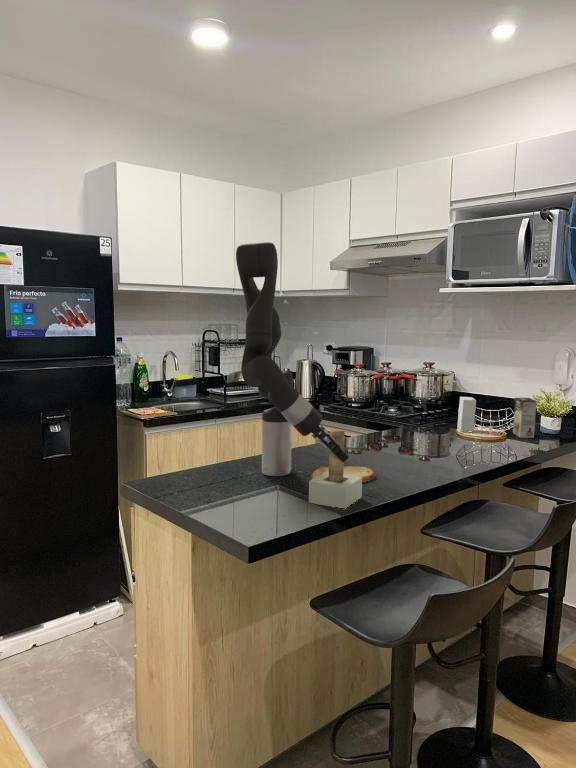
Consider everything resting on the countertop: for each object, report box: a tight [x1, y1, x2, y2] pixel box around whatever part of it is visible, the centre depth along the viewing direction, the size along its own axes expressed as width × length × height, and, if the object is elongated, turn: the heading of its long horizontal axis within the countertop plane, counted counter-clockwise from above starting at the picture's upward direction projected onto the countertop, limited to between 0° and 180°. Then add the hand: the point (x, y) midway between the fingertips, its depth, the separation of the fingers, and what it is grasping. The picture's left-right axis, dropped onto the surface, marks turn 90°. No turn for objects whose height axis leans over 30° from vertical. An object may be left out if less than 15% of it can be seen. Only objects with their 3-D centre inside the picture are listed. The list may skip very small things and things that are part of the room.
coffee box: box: [512, 397, 537, 439], centre depth 249 cm, size 9×6×16 cm
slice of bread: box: [309, 465, 376, 483], centre depth 181 cm, size 18×18×4 cm
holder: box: [308, 472, 363, 510], centre depth 159 cm, size 11×11×6 cm
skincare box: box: [456, 396, 477, 433], centre depth 258 cm, size 8×6×15 cm
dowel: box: [328, 429, 346, 483], centre depth 158 cm, size 4×4×14 cm
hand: (343, 457), depth 158 cm, fingers closed on dowel, 4 cm apart
